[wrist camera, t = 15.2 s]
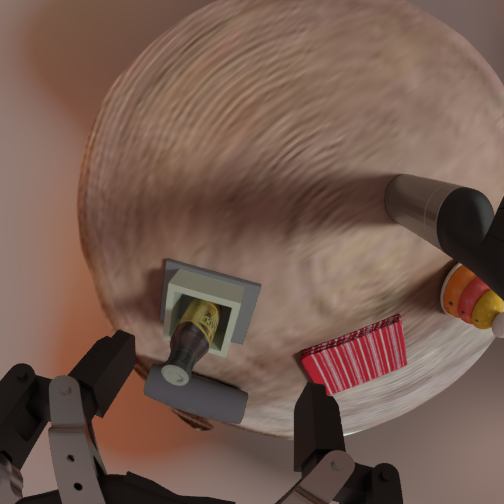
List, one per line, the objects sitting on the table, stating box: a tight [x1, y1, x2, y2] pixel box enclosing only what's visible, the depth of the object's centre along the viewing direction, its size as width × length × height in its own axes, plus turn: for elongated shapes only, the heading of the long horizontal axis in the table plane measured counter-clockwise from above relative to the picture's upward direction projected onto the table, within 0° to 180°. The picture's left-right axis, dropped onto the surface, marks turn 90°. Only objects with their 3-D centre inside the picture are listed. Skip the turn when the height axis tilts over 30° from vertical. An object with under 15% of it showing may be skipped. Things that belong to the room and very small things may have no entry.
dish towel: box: [300, 314, 407, 396], centre depth 54 cm, size 17×24×3 cm
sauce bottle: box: [161, 298, 221, 386], centre depth 42 cm, size 7×6×20 cm
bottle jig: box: [160, 259, 261, 357], centre depth 49 cm, size 18×14×7 cm
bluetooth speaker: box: [144, 364, 248, 424], centre depth 55 cm, size 23×9×10 cm, turn 73°
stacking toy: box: [440, 263, 504, 338], centre depth 38 cm, size 14×14×20 cm
